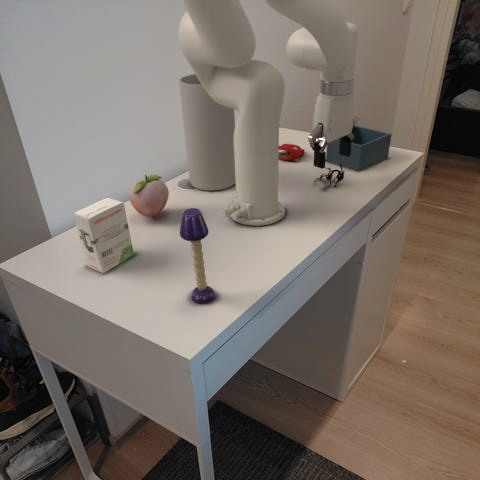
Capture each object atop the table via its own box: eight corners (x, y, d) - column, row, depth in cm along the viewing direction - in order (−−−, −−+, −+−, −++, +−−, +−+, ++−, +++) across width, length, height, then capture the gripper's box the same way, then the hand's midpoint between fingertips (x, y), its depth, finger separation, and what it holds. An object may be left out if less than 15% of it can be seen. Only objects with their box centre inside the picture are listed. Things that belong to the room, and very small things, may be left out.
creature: (316, 195, 121) (348, 187, 120) (312, 175, 118) (345, 167, 116) (313, 183, 127) (343, 175, 126) (309, 163, 124) (341, 155, 123)
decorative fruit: (146, 205, 117) (139, 165, 111) (176, 210, 115) (171, 169, 109) (125, 222, 111) (116, 180, 104) (156, 228, 108) (149, 185, 102)
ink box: (119, 248, 101) (107, 195, 94) (135, 255, 99) (124, 201, 92) (86, 266, 96) (71, 212, 89) (103, 274, 94) (89, 218, 86)
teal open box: (358, 171, 129) (361, 146, 125) (325, 161, 136) (327, 137, 132) (387, 158, 136) (391, 133, 132) (355, 149, 143) (357, 125, 139)
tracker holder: (300, 144, 144) (311, 147, 135) (297, 160, 146) (308, 163, 137) (261, 139, 141) (270, 140, 132) (259, 154, 143) (268, 157, 134)
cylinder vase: (181, 181, 129) (169, 78, 113) (219, 169, 134) (213, 70, 119) (207, 196, 121) (197, 87, 105) (246, 182, 126) (243, 78, 111)
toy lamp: (207, 307, 84) (199, 219, 73) (183, 302, 85) (171, 215, 75) (218, 292, 87) (211, 206, 77) (195, 287, 89) (185, 202, 78)
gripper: (347, 76, 116) (342, 147, 126) (298, 93, 107) (297, 168, 118) (373, 81, 111) (365, 154, 122) (324, 98, 103) (320, 176, 114)
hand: (332, 161), depth 120 cm, fingers open, 9 cm apart
